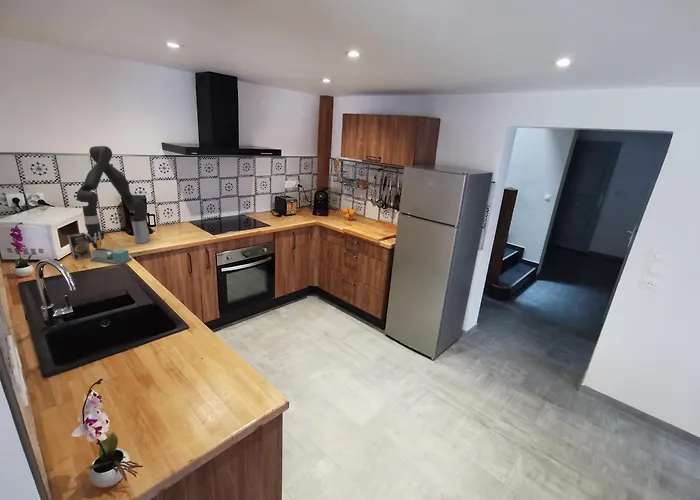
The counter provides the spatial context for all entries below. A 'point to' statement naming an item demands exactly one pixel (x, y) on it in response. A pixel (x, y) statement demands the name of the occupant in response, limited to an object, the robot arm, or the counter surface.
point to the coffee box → (79, 246)
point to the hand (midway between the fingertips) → (97, 247)
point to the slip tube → (100, 249)
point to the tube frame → (118, 257)
